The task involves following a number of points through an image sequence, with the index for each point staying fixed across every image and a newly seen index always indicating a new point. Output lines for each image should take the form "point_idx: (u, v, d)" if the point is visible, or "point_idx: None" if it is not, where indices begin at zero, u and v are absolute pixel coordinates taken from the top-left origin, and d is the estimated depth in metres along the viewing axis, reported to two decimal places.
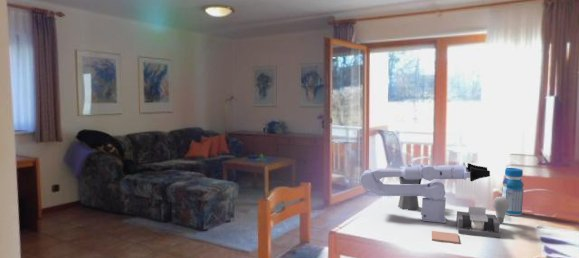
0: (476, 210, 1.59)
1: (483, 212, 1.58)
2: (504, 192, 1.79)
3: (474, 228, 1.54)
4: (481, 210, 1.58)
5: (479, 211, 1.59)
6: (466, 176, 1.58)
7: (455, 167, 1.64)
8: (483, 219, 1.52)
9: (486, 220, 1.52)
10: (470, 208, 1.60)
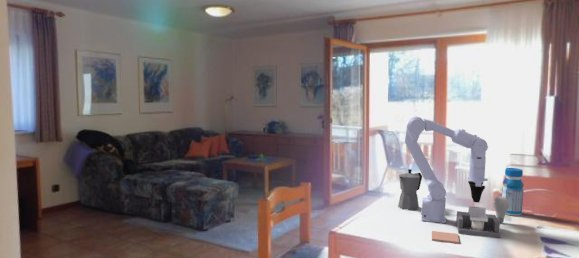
0: (476, 210, 1.59)
1: (483, 212, 1.58)
2: (504, 192, 1.79)
3: (474, 228, 1.54)
4: (481, 210, 1.58)
5: (479, 211, 1.59)
6: (477, 183, 1.58)
7: (483, 172, 1.62)
8: (483, 219, 1.52)
9: (486, 220, 1.52)
10: (470, 208, 1.60)
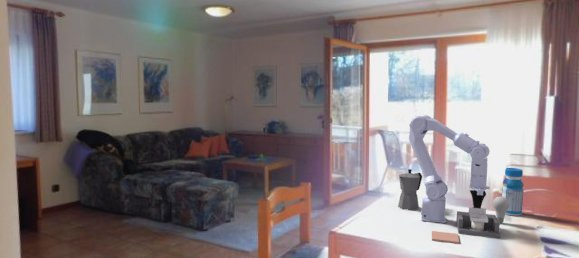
0: (476, 211, 1.58)
1: (483, 213, 1.57)
2: (504, 192, 1.79)
3: (474, 228, 1.54)
4: (482, 211, 1.58)
5: (479, 212, 1.58)
6: (479, 191, 1.52)
7: (485, 179, 1.56)
8: (483, 220, 1.51)
9: (486, 221, 1.51)
10: (470, 209, 1.59)
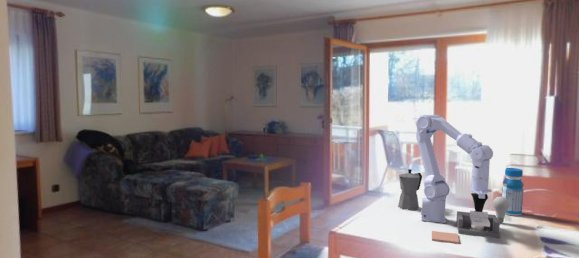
0: (478, 214, 1.53)
1: (485, 217, 1.52)
2: (504, 192, 1.79)
3: (474, 228, 1.54)
4: (483, 214, 1.52)
5: (481, 215, 1.53)
6: (480, 194, 1.47)
7: (487, 182, 1.51)
8: (485, 224, 1.46)
9: (488, 225, 1.46)
10: (472, 212, 1.54)
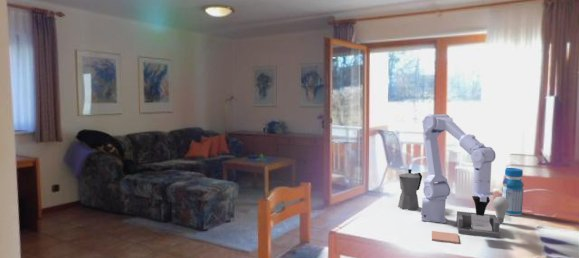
0: (479, 218, 1.49)
1: (487, 220, 1.48)
2: (504, 192, 1.79)
3: None
4: (485, 218, 1.48)
5: (482, 219, 1.48)
6: (482, 197, 1.43)
7: (488, 185, 1.47)
8: (487, 228, 1.42)
9: (490, 229, 1.41)
10: (473, 216, 1.49)
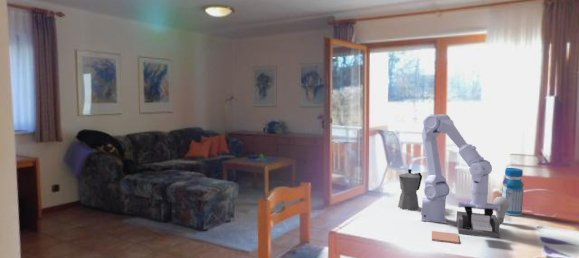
0: (479, 218, 1.48)
1: (487, 220, 1.48)
2: (504, 192, 1.79)
3: None
4: (485, 218, 1.48)
5: (483, 219, 1.48)
6: (458, 202, 1.58)
7: (474, 196, 1.53)
8: (487, 228, 1.41)
9: (490, 229, 1.41)
10: (473, 216, 1.49)
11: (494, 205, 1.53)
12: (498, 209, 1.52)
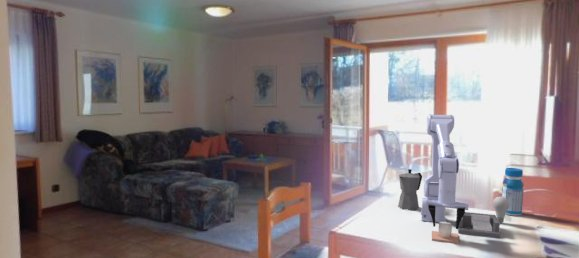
0: (479, 218, 1.48)
1: (487, 220, 1.48)
2: (504, 192, 1.79)
3: (441, 232, 1.47)
4: (485, 218, 1.48)
5: (483, 219, 1.48)
6: (425, 201, 1.50)
7: (442, 195, 1.46)
8: (487, 228, 1.41)
9: (490, 229, 1.41)
10: (473, 216, 1.49)
11: (462, 204, 1.45)
12: (466, 208, 1.44)
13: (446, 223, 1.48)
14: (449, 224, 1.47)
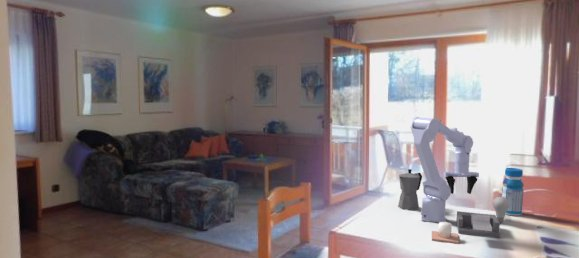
0: (479, 218, 1.48)
1: (487, 220, 1.48)
2: (504, 192, 1.79)
3: (441, 232, 1.47)
4: (485, 218, 1.48)
5: (483, 219, 1.48)
6: (444, 173, 1.77)
7: (460, 166, 1.74)
8: (487, 228, 1.41)
9: (490, 229, 1.41)
10: (473, 216, 1.49)
11: (473, 173, 1.77)
12: (477, 176, 1.76)
13: (446, 223, 1.49)
14: (449, 224, 1.47)
